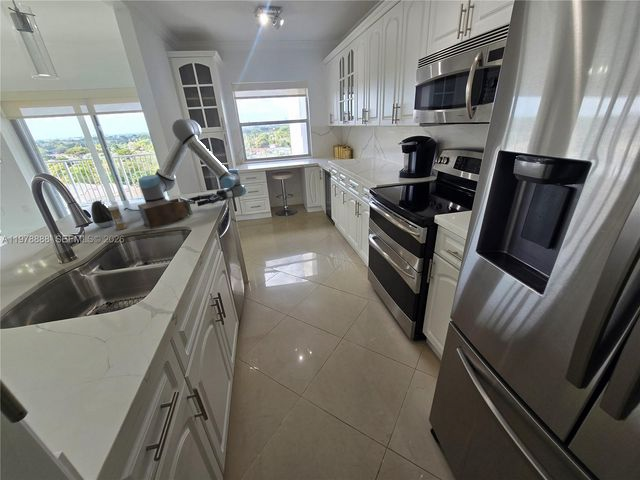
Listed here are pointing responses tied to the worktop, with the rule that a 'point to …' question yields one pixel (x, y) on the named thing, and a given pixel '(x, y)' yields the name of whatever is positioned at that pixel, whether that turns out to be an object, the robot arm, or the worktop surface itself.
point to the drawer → (182, 207)
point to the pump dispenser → (101, 214)
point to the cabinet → (158, 213)
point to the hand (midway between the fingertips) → (193, 202)
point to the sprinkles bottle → (117, 217)
